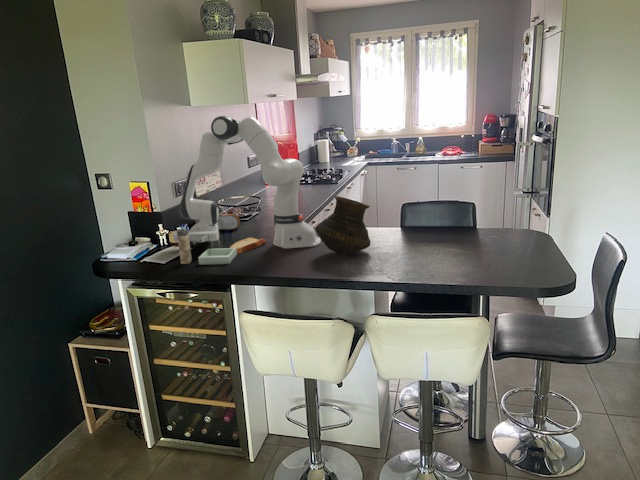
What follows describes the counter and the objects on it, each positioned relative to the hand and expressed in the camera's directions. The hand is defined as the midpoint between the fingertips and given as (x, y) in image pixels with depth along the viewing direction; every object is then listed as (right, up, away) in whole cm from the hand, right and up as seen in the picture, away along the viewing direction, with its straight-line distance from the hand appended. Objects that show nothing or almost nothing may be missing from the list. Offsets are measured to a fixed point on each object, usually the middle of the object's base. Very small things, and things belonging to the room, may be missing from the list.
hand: (190, 240), depth 212 cm
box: (+13, -8, -3) cm, 16 cm away
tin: (+6, +6, +49) cm, 50 cm away
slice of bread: (+23, -4, +13) cm, 27 cm away
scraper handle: (0, -9, -6) cm, 11 cm away
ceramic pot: (+67, -6, -4) cm, 68 cm away
